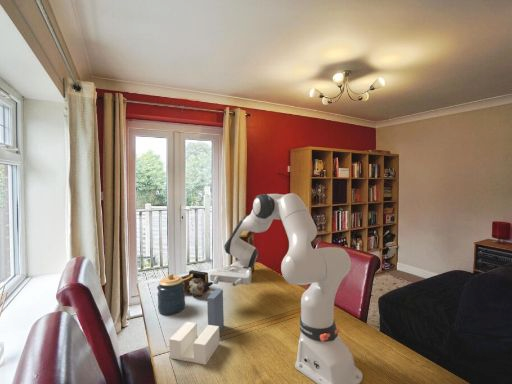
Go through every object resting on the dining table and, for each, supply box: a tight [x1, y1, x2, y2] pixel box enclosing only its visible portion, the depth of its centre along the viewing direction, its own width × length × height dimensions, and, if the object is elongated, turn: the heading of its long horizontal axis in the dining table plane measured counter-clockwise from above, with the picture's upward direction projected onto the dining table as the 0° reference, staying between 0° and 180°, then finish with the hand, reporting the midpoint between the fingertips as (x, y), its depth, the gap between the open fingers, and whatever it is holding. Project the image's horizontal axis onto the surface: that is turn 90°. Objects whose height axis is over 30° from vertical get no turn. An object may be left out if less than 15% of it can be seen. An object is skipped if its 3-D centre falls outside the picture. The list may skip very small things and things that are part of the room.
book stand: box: [169, 321, 221, 366], centre depth 100 cm, size 14×12×7 cm
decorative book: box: [234, 231, 255, 275], centre depth 175 cm, size 22×8×30 cm, turn 168°
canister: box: [156, 273, 186, 316], centre depth 133 cm, size 13×13×18 cm
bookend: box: [181, 269, 214, 298], centre depth 151 cm, size 15×11×25 cm
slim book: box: [206, 288, 225, 332], centre depth 113 cm, size 3×9×16 cm, turn 164°
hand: (224, 283), depth 123 cm, fingers open, 8 cm apart
